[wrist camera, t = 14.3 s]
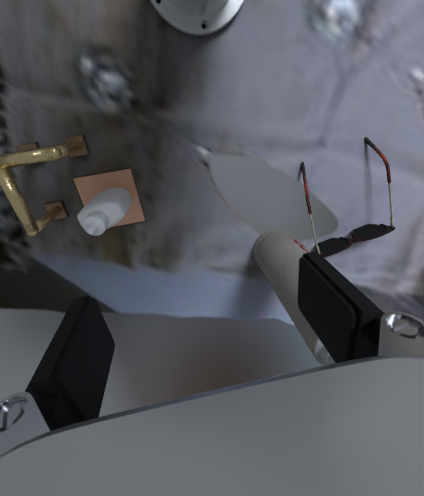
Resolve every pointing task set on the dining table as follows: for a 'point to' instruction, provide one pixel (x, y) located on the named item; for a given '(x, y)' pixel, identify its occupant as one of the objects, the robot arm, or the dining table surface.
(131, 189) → the terracotta tile
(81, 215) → the eye dropper bottle
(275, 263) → the thermos bottle
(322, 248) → the sunglasses
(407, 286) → the dining table surface
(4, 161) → the bent handrail
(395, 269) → the dining table surface
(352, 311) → the robot arm
